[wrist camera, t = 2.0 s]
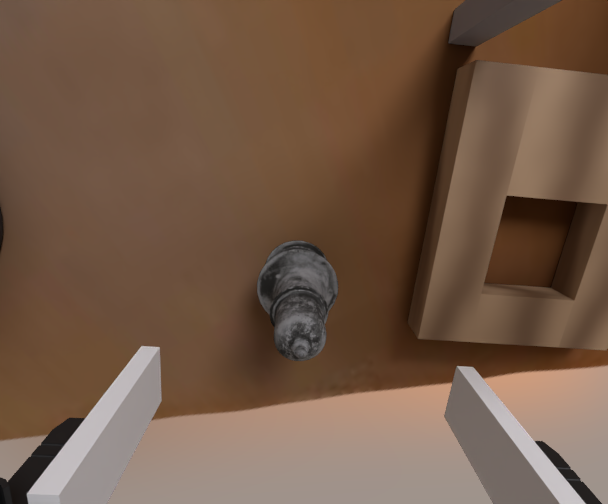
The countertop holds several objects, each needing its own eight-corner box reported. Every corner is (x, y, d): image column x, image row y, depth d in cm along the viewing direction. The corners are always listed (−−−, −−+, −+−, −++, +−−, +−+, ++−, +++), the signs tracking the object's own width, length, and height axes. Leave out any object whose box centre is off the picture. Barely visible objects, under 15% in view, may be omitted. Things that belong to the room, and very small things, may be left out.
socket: (407, 322, 30) (418, 338, 28) (457, 68, 24) (476, 60, 22) (581, 334, 31) (606, 350, 29) (668, 92, 25) (709, 86, 23)
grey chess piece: (342, 290, 29) (375, 384, 17) (276, 313, 29) (268, 420, 18) (318, 226, 27) (338, 284, 16) (249, 252, 28) (220, 326, 16)
